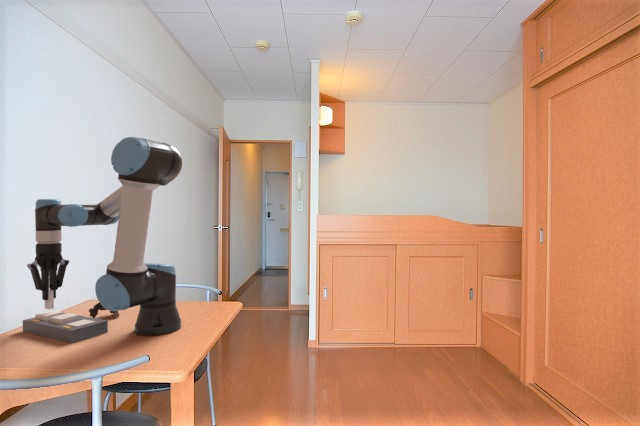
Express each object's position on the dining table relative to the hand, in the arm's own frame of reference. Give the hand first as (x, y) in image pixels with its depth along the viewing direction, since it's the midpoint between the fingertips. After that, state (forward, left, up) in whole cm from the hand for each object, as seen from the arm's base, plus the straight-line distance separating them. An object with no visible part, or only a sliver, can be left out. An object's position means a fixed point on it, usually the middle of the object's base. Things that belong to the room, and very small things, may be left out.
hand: (49, 308), depth 136 cm
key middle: (-9, 0, -5) cm, 10 cm away
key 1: (0, 0, -5) cm, 5 cm away
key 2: (-18, 0, -6) cm, 19 cm away
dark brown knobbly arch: (-5, -18, -8) cm, 20 cm away
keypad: (-9, 0, -7) cm, 12 cm away
